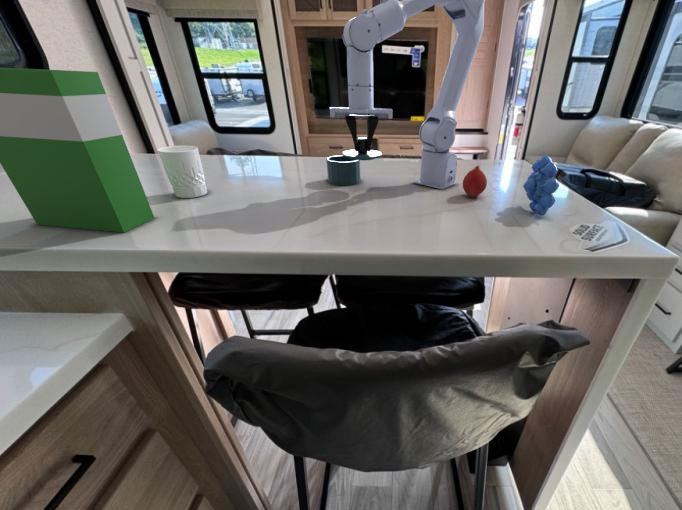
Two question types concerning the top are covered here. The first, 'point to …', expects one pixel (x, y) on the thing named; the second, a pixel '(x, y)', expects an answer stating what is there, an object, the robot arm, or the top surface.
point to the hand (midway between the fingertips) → (362, 150)
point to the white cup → (184, 170)
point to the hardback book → (68, 151)
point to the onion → (474, 182)
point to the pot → (343, 170)
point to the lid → (362, 151)
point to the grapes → (542, 185)
